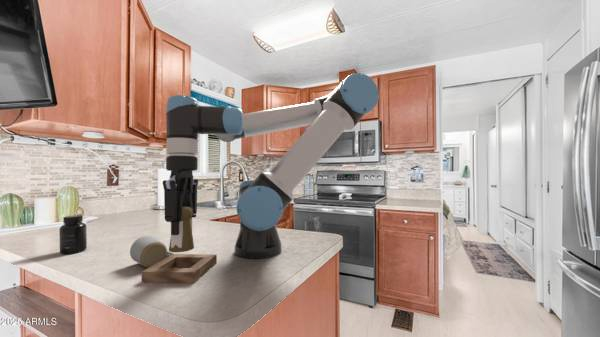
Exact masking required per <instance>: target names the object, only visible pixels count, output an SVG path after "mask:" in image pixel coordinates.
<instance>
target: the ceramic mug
mask: <svg viewBox="0 0 600 337" xmlns="http://www.w3.org/2000/svg"><path fill="white" fill-rule="evenodd" d="M172 254H174V252H170V251H169V250H168V249H167V246H166V245H165V243H164V242H162V241H161V240H159V239H157V238H156V237H154V236H152V235H144V236H140V237H138V238H137V239H136V240H134V242H133V243H132V245H131V246H130V250H129V255H130V258H131V259H132V260H133V261H134V262H136V263H137V264H139V265H141V266H142V267H145V268H149V267H151V266H153V265H154V264H156V263H158V262H160V261H162V260H163V259H165V258H167V257H169V256H170V255H172Z"/></svg>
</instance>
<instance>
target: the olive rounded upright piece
mask: <svg viewBox="0 0 600 337" xmlns="http://www.w3.org/2000/svg"><path fill="white" fill-rule="evenodd" d="M192 214H193V212H192V209H191V208H190V207H185V206H182V214H181V221H183V239H182V248H179V247H178V246H177V245H176V244H175V246H174V247H173V248H171V238H170V240H169V241H170V242H169V245H168V246H169V248H168V252H171V253H184V252H188V251H191V250H193V249H194V248H195V242H194V238H193V237H194V236H193V227H192V228H191V221H190V218H191V217H192ZM192 218H193V217H192Z"/></svg>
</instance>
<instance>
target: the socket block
mask: <svg viewBox="0 0 600 337" xmlns="http://www.w3.org/2000/svg"><path fill="white" fill-rule="evenodd" d="M217 257H218V256H217V254H204V253H203V254H199V253H198V254H197V253H196V254H195V253H194V254H191V253H189V254H187V253H176V254H175V253H173V254H172V255H170V256H169V257H167V258H165V259H163V260H162V261H160V262H158V263H156V264H154V265H153V266H151V267H146V268H145V269H143V270H142V271H141V283H158V284H159V283H164V284H165V283H169V284H171V283H173V284H174V283H175V284H195V283H197V281H199V280H200V279H201V278H202V277H203V276H204V275H205V274H206V273H208V272H209V271H210V270H211V269H212V268H214V266H216V265H217V264H218V263H217V261H218V260H217ZM175 266H176V267H175ZM186 267H187V268H186ZM210 268H211V269H210ZM209 269H210V270H209ZM208 270H209V271H208ZM200 277H201V278H200ZM199 278H200V279H199ZM198 279H199V280H198Z"/></svg>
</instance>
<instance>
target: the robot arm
mask: <svg viewBox="0 0 600 337" xmlns="http://www.w3.org/2000/svg"><path fill="white" fill-rule="evenodd" d="M379 99H380V94H379V87H378V85H377V83H376V82H375V80H374V79H372V77H370V76H369V75H368V74H365V73H360V72H355V73H351V74H349V75H347V76H346V77H344V79H342V81H341V82H340V83H339V85H337V86H336V88H334V89H333V91H332V92H330V93H328V94H327V95H325V96H322V97H318V98H314V100H313V101H311V102H307V103H305V102H304V103H301V104H295V105H288V106H283V107H276V108H270V109H265V110H264V109H263V110H258V111H252V112H246V113H244V112H243V110H242V109H241V108H240V107H232V106H230V105H229V106H211V105H199V104H198V103H199V102H198V100H197V99H196V98H194V97H192V96H189V95H183V94H178V95H177V94H175V95H171V96H169V97H168V98H167V101H166V111H165V116H166V120H165V122H166V144H165V146H166V154H167V155H168V156H166V157H165V159H166V160H165V170H166V171H168V172H169V171H170V176H169V179H168V180H167V179H166V180H163V181H162V186H163V190H164V191H163V192H164V193H163V194H164V195H163V196H164V199H163V200H164V201H163V202H164V221H166V222H167V223H170V239H171V248H173V247H174V246H175V244H176V245H177V246H178V247H179V248H182V239H183V221H181V214H182V206H185V207H190V208H191V209H192V212H193V214H192V217H191V218H190V221H191V228H192V229H193V218H196V217H197V213H198V211H197V210H198V207H197V205H198V185H199V180H198V179H197V178H195V179H194V175H193V172H194V171H197V170H198V166H199V165H198V157H197V156H198V153H199V150H198V146H199V144H198V143H199V141H198V138H199V136H198V135H215V137H216V138H217V139H219V141H222V142H224V143H230V142H233V141H235V140H237V139H243V138H249V137H253V136H258V135H263V134H270V133H275V132H276V133H277V132H280V131H285V130H286V131H287V130H292V129H297V128H302V127H307V126H308V127H307V128H306V129H305V131H304V132H303V133H302V134H301V135H300V137H299V138H298V139H297V140H296V141H295V142H294V143H293V144H292V145H291V147H290V148H289V149H288V150H287V151H286V152H285V154H284V155H283V156H282V157H281V158H280V159H279V160H278V161H277V163H276V164H275V165H274V166H272V168H271V169H270V170H268V171H261V172H260V174H259V175H258V176H257V177H256V178H255V179H251V180H244V181H242V182H240V185H239V197H238V200H237V202H236V215H237V217H238V218H239V220H240V221H239V227H240V228H239V232H238V235H237V239H236V241H235V245H234V254H235V255H236V256H238V257H240V258H245V259H263V258H270V257H273V256H276V255H278V254H280V253H281V252H282V242H281V238H280V235H279V232H278V229H277V224H278V222H279V221H280V220H281V218H282V216H283V213H284V211H285V209H286V208H287V207H288V205H289V204H290V203H291V202H292V201H293V199H294V194H293V193H294V190H295V189H296V188H297V187H298V186H299V184H301V182H302V181H303V180H304V178H305V177H307V175H308V174H309V173H310V171H311V170H313V168H314V167H315V166H316V165H317V163H318V162H319V161H320V160H321V159H322V158H323V157H324V156H325V154H326V153H327V151H328V150H329V149H330V148H331V147H332V146H333V144H334V143H335V142H336V141H337V140H338V139H339V138H340V137H341V135H342V134H343V132H344V131H349V130H353V129H354V128H355V127H356V125H357V124H358V123H359V122H360V120H362V118H363V117H364V116H365V115H366V114H368V113H371V112H372V111H373V110H374V109H375V107H377V105H378V103H379V101H380V100H379Z"/></svg>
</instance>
